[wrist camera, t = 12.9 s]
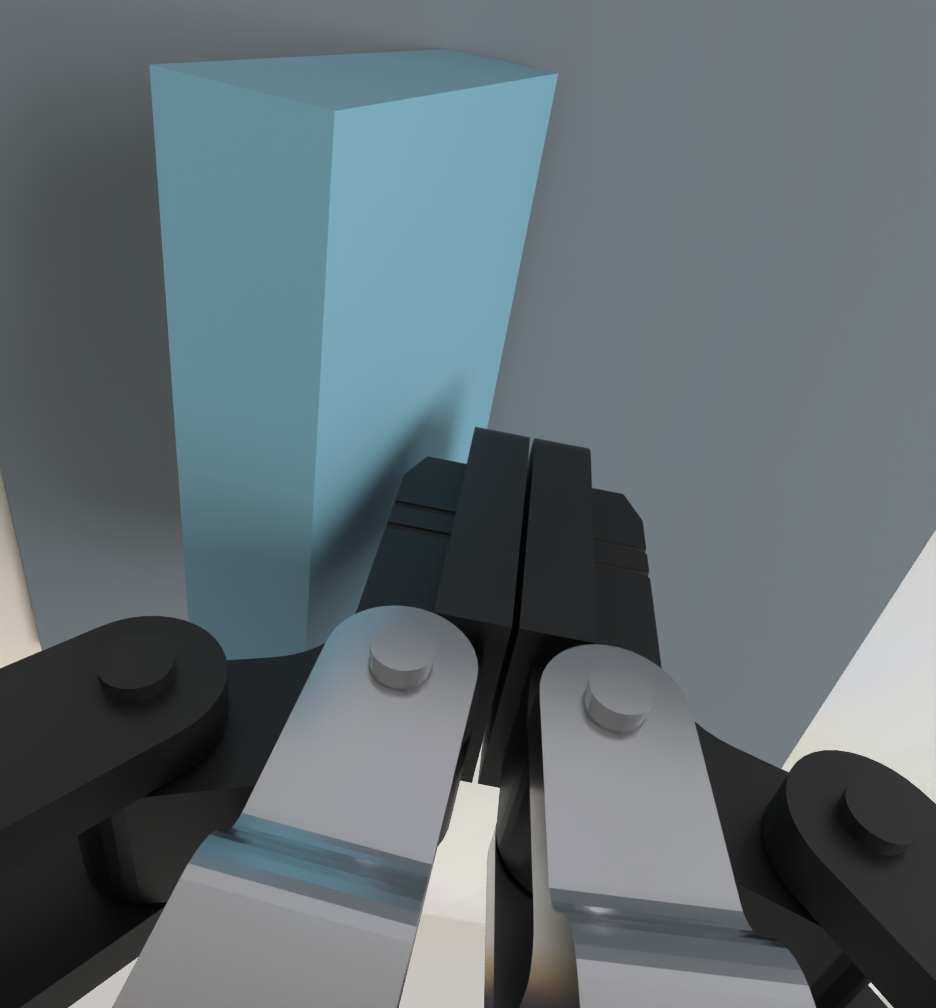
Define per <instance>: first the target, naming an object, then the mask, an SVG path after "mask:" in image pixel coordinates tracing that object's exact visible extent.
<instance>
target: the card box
mask: <svg viewBox="0 0 936 1008" xmlns="http://www.w3.org/2000/svg"><path fill="white" fill-rule="evenodd" d="M149 65H150V79H151V94H152V108H153V122H154V137H155V151H156V165H157V179H158V194H159V208H160V222H161V237H162V251H163V265H164V279H165V294H166V308H167V322H168V337H169V351H170V365H171V379H172V394H173V408H174V422H175V437H176V451H177V465H178V479H179V494H180V508H181V522H182V537H183V551H184V565H185V579H186V594H187V608H188V622H190V623H193V624H196V625H198V626H199V627H201V628H203V629H204V630H206V631H208V632H209V633H210V634H211V635H212V636H213V637H214V638H215V639H216V640H217V641H218V643H219V644H220V645H221V647H222V649H223V651H224V653H225V656H226V660H237V659H252V658H268V657H279V656H287V655H292V654H297V653H301V652H305V651H307V650H310V649H313V648H316V647H318V646H320V645H322V644H324V643H326V641H327V639H328V638H329V636H330V634H331V633H332V631H333V630H334V629H335V628H336V627H337V626H338V625H339V624H340V623H342V622H343V621H344V620H346V619H347V618H349V617H351V616H353V615H355V612H356V610H357V608H358V605H359V602H360V599H361V597H362V594H363V591H364V588H365V585H366V582H367V579H368V576H369V573H370V571H371V568H372V565H373V562H374V559H375V556H376V553H377V550H378V547H379V545H380V542H381V539H382V536H383V533H384V530H385V527H387V522H388V519H389V516H390V513H391V510H392V507H393V505H394V503H395V498H396V496H397V493H398V490H399V487H400V484H401V481H402V478H403V475H404V474H405V473H407V472H408V471H409V470H410V469H412V468H413V467H414V466H416V465H417V464H418V463H419V462H421V461H422V460H423V459H424V458H426V457H427V456H429V457H434V458H439V459H444V460H450V461H455V462H460V463H465V464H467V460H468V456H469V451H470V447H471V442H472V438H473V433H474V429H475V427H480V428H485V429H487V427H488V422H489V417H490V412H491V407H492V402H493V397H494V392H495V387H496V382H497V377H498V372H499V367H500V362H501V357H502V352H503V347H504V342H505V337H506V332H507V327H508V322H509V317H510V312H511V307H512V302H513V297H514V292H515V287H516V282H517V277H518V272H519V267H520V262H521V257H522V252H523V247H524V242H525V237H526V232H527V227H528V222H529V217H530V212H531V207H532V202H533V197H534V192H535V187H536V182H537V177H538V172H539V167H540V163H541V158H542V153H543V148H544V143H545V138H546V133H547V128H548V123H549V118H550V113H551V108H552V103H553V98H554V93H555V88H556V83H557V78H558V73H555V72H550V71H546V70H542V69H537V68H533V67H528V66H524V65H519V64H515V63H510V62H506V61H501V60H497V59H493V58H488V57H484V56H479V55H475V54H470V53H466V52H461V51H457V50H453V49H435V50H416V51H397V52H378V53H359V54H340V55H321V56H302V57H283V58H264V59H245V60H226V61H207V62H188V63H168V64H149Z"/></svg>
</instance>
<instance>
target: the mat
mask: <svg viewBox="0 0 936 1008" xmlns="http://www.w3.org/2000/svg"><path fill="white" fill-rule="evenodd" d="M435 49H453V50H457V51H461V52H466V53H470V54H475V55H479V56H484V57H488V58H493V59H497V60H501V61H506V62H510V63H515V64H519V65H524V66H528V67H533V68H537V69H542V70H546V71H550V72H555V73H558V78H557V83H556V88H555V93H554V98H553V103H552V108H551V113H550V118H549V123H548V128H547V133H546V138H545V143H544V148H543V153H542V158H541V163H540V167H539V172H538V177H537V182H536V187H535V192H534V197H533V202H532V207H531V212H530V217H529V222H528V227H527V232H526V237H525V242H524V247H523V252H522V257H521V262H520V267H519V272H518V277H517V282H516V287H515V292H514V297H513V302H512V307H511V312H510V317H509V322H508V327H507V332H506V337H505V342H504V347H503V352H502V357H501V362H500V367H499V372H498V377H497V382H496V387H495V392H494V397H493V402H492V407H491V412H490V417H489V422H488V427H487V429H490V430H495V431H500V432H506V433H511V434H516V435H521V436H526V437H530V445H529V454H530V450H531V446H532V443H533V440H534V438H538V439H543V440H548V441H553V442H558V443H563V444H569V445H574V446H579V447H584V448H589V449H590V451H591V472H592V488H595V489H600V490H605V491H611V492H616V493H621V494H624V495H625V497H626V498H627V500H628V501H629V502H630V504H631V505H632V507H633V508H634V509H635V511H636V512H637V514H638V515H639V516H640V518H641V519H642V521H643V527H644V535H645V543H646V552H645V554H647V558H648V566H649V575H648V578H650V581H651V589H652V597H653V605H654V612H655V620H656V628H657V636H658V643H659V651H660V659H661V667H662V669H663V670H664V671H665V672H666V673H667V674H668V675H669V676H670V677H671V678H672V679H673V680H674V681H675V682H676V683H677V684H678V686H679V687H680V688H681V690H682V691H683V693H684V694H685V696H686V698H687V700H688V702H689V705H690V707H691V710H692V714H693V717H694V721H695V722H696V723H697V724H699V725H700V726H701V727H702V728H703V729H705V730H706V731H708V732H709V733H711V734H712V735H714V736H715V737H717V738H718V739H720V740H722V741H724V742H726V743H727V744H729V745H731V746H733V747H735V748H737V749H740V750H742V751H744V752H746V753H748V754H750V755H752V756H754V757H757V758H759V759H761V760H763V761H765V762H767V763H769V764H772V765H774V766H776V767H778V768H780V769H781V768H782V766H783V765H784V763H785V762H786V760H787V759H788V757H789V755H790V754H791V752H792V751H793V749H794V748H795V746H796V745H797V743H798V742H799V740H800V738H801V737H802V735H803V734H804V732H805V731H806V729H807V728H808V726H809V725H810V723H811V721H812V720H813V718H814V717H815V715H816V714H817V712H818V711H819V709H820V708H821V706H822V704H823V703H824V701H825V700H826V698H827V697H828V695H829V694H830V692H831V691H832V689H833V687H834V686H835V684H836V683H837V681H838V680H839V678H840V677H841V675H842V674H843V672H844V670H845V669H846V667H847V666H848V664H849V663H850V661H851V660H852V658H853V657H854V655H855V653H856V652H857V650H858V649H859V647H860V646H861V644H862V643H863V641H864V640H865V638H866V637H867V635H868V633H869V632H870V630H871V629H872V627H873V626H874V624H875V623H876V621H877V620H878V618H879V616H880V615H881V613H882V612H883V610H884V609H885V607H886V606H887V604H888V603H889V601H890V599H891V598H892V596H893V595H894V593H895V592H896V590H897V589H898V587H899V586H900V584H901V582H902V581H903V579H904V578H905V576H906V575H907V573H908V572H909V570H910V569H911V567H912V565H913V564H914V562H915V561H916V559H917V558H918V556H919V555H920V553H921V552H922V550H923V548H924V547H925V545H926V544H927V542H928V541H929V539H930V538H931V536H932V535H933V533H934V531H935V530H936V0H0V468H1V472H2V477H3V481H4V485H5V490H6V494H7V498H8V503H9V507H10V512H11V516H12V520H13V525H14V529H15V534H16V538H17V542H18V547H19V551H20V556H21V560H22V564H23V569H24V573H25V578H26V582H27V586H28V591H29V595H30V600H31V604H32V608H33V613H34V617H35V622H36V626H37V630H38V635H39V639H40V644H41V648H42V651H43V650H45V649H48V648H50V647H52V646H55V645H57V644H60V643H62V642H64V641H67V640H69V639H71V638H74V637H76V636H78V635H81V634H83V633H86V632H88V631H90V630H93V629H95V628H97V627H100V626H103V625H105V624H108V623H111V622H114V621H118V620H122V619H126V618H132V617H140V616H165V617H173V618H177V619H181V620H185V621H188V608H187V594H186V579H185V565H184V551H183V537H182V522H181V508H180V494H179V479H178V465H177V451H176V437H175V422H174V408H173V394H172V379H171V365H170V351H169V337H168V322H167V308H166V294H165V279H164V265H163V251H162V237H161V222H160V208H159V194H158V179H157V165H156V151H155V137H154V122H153V108H152V94H151V79H150V65H149V64H168V63H188V62H207V61H226V60H245V59H264V58H283V57H302V56H321V55H340V54H359V53H378V52H397V51H416V50H435ZM528 458H529V455H528ZM482 743H483V741H482Z"/></svg>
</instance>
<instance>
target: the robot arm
mask: <svg viewBox="0 0 936 1008" xmlns="http://www.w3.org/2000/svg"><path fill="white" fill-rule="evenodd" d="M529 445H530V437H526V436H521V435H516V434H511V433H506V432H500V431H495V430H490V429H485V428H480V427H475V429H474V433H473V438H472V442H471V447H470V451H469V456H468V460H467V464H465V463H460V462H455V461H450V460H444V459H439V458H434V457H429V456H427V457H426V458H424V459H423V460H422V461H421V462H419V463H418V464H417V465H416V466H414V467H413V468H412V469H410V470H409V471H408V472H407V473H405V474H404V475H403V478H402V481H401V484H400V487H399V490H398V493H397V496H396V498H395V503H394V505H393V507H392V510H391V513H390V516H389V519H388V522H387V527H385V530H384V533H383V536H382V539H381V542H380V545H379V547H378V550H377V553H376V556H375V559H374V562H373V565H372V568H371V571H370V573H369V576H368V579H367V582H366V585H365V588H364V591H363V594H362V597H361V599H360V602H359V605H358V608H357V610H356V612H355V615H353V616H351V617H349V618H347V619H346V620H344V621H343V622H342V623H340V624H339V625H338V626H337V627H336V628H335V629H334V630H333V631H332V633H331V634H330V636H329V638H328V639H327V641H326V643H324V644H322V645H320V646H318V647H316V648H313V649H310V650H307V651H305V652H301V653H297V654H292V655H287V656H279V657H268V658H252V659H237V660H226V656H225V653H224V651H223V649H222V647H221V645H220V644H219V643H218V641H217V640H216V639H215V638H214V637H213V636H212V635H211V634H210V633H209V632H208V631H206V630H204V629H203V628H201V627H199V626H198V625H196V624H193V623H190V622H188V621H185V620H181V619H177V618H173V617H165V616H140V617H132V618H126V619H122V620H118V621H114V622H111V623H108V624H105V625H103V626H100V627H97V628H95V629H93V630H90V631H88V632H86V633H83V634H81V635H78V636H76V637H74V638H71V639H69V640H67V641H64V642H62V643H60V644H57V645H55V646H52V647H50V648H48V649H45V650H43V651H41V652H38V653H36V654H34V655H31V656H29V657H26V658H24V659H22V660H19V661H17V662H15V663H12V664H10V665H8V666H5V667H3V668H0V1008H68V1007H69V1006H71V1005H72V1004H74V1003H75V1002H76V1001H78V1000H79V999H80V998H82V997H83V996H84V995H86V994H87V993H89V992H90V991H91V990H93V989H94V988H96V987H97V986H98V985H100V984H101V983H103V982H104V981H105V980H107V979H108V978H110V977H111V976H112V975H113V974H115V973H116V972H118V971H119V970H121V969H122V968H123V967H125V966H126V965H127V964H129V963H130V962H132V961H133V960H134V959H136V958H137V957H138V959H137V961H136V963H135V965H134V967H133V969H132V971H131V973H130V975H129V976H128V978H127V980H126V982H125V984H124V986H123V988H122V990H121V992H120V994H119V995H118V997H117V999H116V1001H115V1003H114V1005H113V1007H112V1008H399V1004H400V1000H401V996H402V992H403V987H404V983H405V979H406V975H407V970H408V967H409V962H410V958H411V954H412V950H413V946H414V942H415V937H416V933H417V929H418V925H419V921H420V917H421V913H422V909H423V904H424V900H425V896H426V892H427V888H428V884H429V880H430V875H431V871H432V867H433V863H434V859H435V855H436V851H437V847H438V845H439V844H440V843H441V841H442V840H443V839H444V837H445V834H446V832H447V830H448V827H449V823H450V819H451V815H452V811H453V807H454V803H455V799H456V795H457V791H458V787H459V782H460V780H461V781H466V782H471V783H472V780H473V776H474V772H475V768H476V764H477V760H478V757H479V753H480V749H481V745H482V741H483V745H482V753H481V762H480V770H479V778H478V784H483V785H488V786H493V787H498V788H500V794H499V805H498V816H497V824H496V827H495V830H494V834H493V837H492V840H491V843H490V847H489V850H488V857H487V886H486V938H485V987H484V988H485V989H484V1008H888V1007H887V1006H886V1005H885V1004H884V1003H883V1002H882V1000H881V999H880V998H879V997H878V996H877V995H876V994H875V993H874V991H873V990H872V989H871V988H870V987H869V986H868V984H869V983H870V982H871V983H872V984H873V985H874V986H875V987H876V988H877V989H878V991H879V992H880V993H881V994H882V995H883V996H884V997H885V998H886V999H887V1001H888V1002H889V1003H890V1004H891V1005H892V1006H893V1007H894V1008H936V804H935V803H934V802H933V801H932V800H931V799H930V798H928V797H927V796H926V795H925V794H924V793H923V792H922V791H921V790H919V789H918V788H917V787H916V786H914V785H913V784H912V783H911V782H909V781H908V780H907V779H906V778H904V777H903V776H901V775H900V774H898V773H897V772H895V771H894V770H892V769H890V768H888V767H886V766H884V765H883V764H881V763H879V762H876V761H874V760H872V759H869V758H867V757H864V756H861V755H857V754H854V753H850V752H844V751H838V750H824V751H819V752H813V753H811V754H809V755H806V756H804V757H803V758H801V759H800V760H799V761H797V762H796V763H795V765H794V766H793V768H792V769H791V770H790V772H786V771H784V770H782V769H780V768H778V767H776V766H774V765H772V764H769V763H767V762H765V761H763V760H761V759H759V758H757V757H754V756H752V755H750V754H748V753H746V752H744V751H742V750H740V749H737V748H735V747H733V746H731V745H729V744H727V743H726V742H724V741H722V740H720V739H718V738H717V737H715V736H714V735H712V734H711V733H709V732H708V731H706V730H705V729H703V728H702V727H701V726H700V725H699V724H697V723H696V722H695V721H694V717H693V714H692V710H691V707H690V705H689V702H688V700H687V698H686V696H685V694H684V693H683V691H682V690H681V688H680V687H679V686H678V684H677V683H676V682H675V681H674V680H673V679H672V678H671V677H670V676H669V675H668V674H667V673H666V672H665V671H664V670H663V669H662V667H661V659H660V651H659V643H658V636H657V628H656V620H655V612H654V605H653V597H652V589H651V581H650V578H648V575H649V566H648V558H647V554H645V552H646V543H645V535H644V527H643V521H642V519H641V518H640V516H639V515H638V514H637V512H636V511H635V509H634V508H633V507H632V505H631V504H630V502H629V501H628V500H627V498H626V497H625V495H624V494H621V493H616V492H611V491H605V490H600V489H595V488H592V472H591V451H590V449H589V448H584V447H579V446H574V445H569V444H563V443H558V442H553V441H548V440H543V439H538V438H534V440H533V443H532V446H531V450H530V454H529ZM528 455H529V458H528Z"/></svg>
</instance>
